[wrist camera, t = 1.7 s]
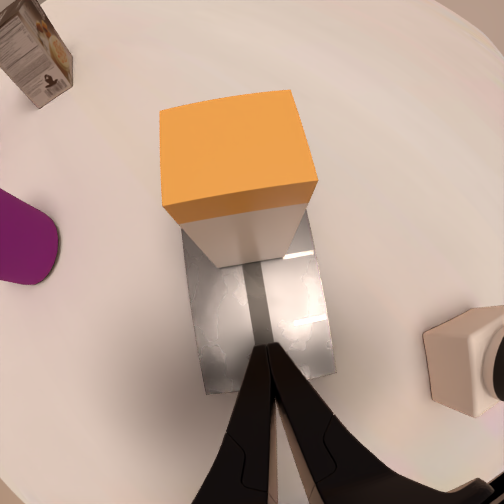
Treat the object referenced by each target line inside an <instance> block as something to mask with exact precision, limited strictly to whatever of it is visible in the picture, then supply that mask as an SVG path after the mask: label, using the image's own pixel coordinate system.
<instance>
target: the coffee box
mask: <svg viewBox="0 0 504 504" xmlns="http://www.w3.org/2000/svg"><path fill="white" fill-rule="evenodd" d="M0 67H1V69H2V70H3V71H4V72H5V73H6V74H7V75H8V76H9V77H10V79H11V80H12V81H13V82H14V83H15V84H16V85H17V86H18V87H19V88H20V89H21V90H22V91H23V92H24V94H25V95H26V96H27V97H28V98H29V99H30V100H31V101H32V102H33V103H34V104H35V105H36V106H37V107H38V108H41V107H43V106H44V105H45V104H47V103H48V102H50V101H51V100H53V99H54V98H55V97H57V96H58V95H60V94H61V93H63V92H64V91H66V90H68V89H69V88H71V87H72V86H73V76H72V55H71V53H70V52H69V50H68V49H67V47H66V46H65V44H64V43H63V41H62V40H61V38H60V37H59V35H58V33H57V32H56V30H55V29H54V27H53V25H52V24H51V22H50V21H49V19H48V18H47V16H46V14H45V13H44V11H43V9H42V8H41V6H40V5H39V3H38V1H37V0H16V1H15V2H13V3H12V4H10V5H9V6H8V7H6V8H5V9H4V10H3V11H2V12H0Z"/></svg>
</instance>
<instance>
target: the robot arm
mask: <svg viewBox="0 0 504 504" xmlns="http://www.w3.org/2000/svg"><path fill="white" fill-rule="evenodd" d="M275 400H276V403H275ZM276 404H277V408H278V411H279V414H280V417H281V420H282V423H283V426H284V429H285V432H286V436H287V439H288V442H289V445H290V448H291V451H292V454H293V457H294V460H295V463H296V466H297V469H298V472H299V475H300V478H301V481H302V484H303V486H304V489H305V492H306V495H307V498H308V500H309V504H504V471H503V472H502V473H500V474H499V475H498V476H496V477H495V478H494V479H492V480H491V481H490V482H488V483H486V482H485V481H483V480H481V479H480V478H476V479H474V480H471V481H469V482H467V483H465V484H463V485H461V486H459V487H457V488H455V489H453V490H450V491H448V492H441V491H438V490H435V489H433V488H430V487H428V486H425V485H423V484H420V483H418V482H415V481H413V480H411V479H408V478H406V477H404V476H402V475H399V474H398V473H396V472H394V471H393V470H391V469H390V468H389V467H387V466H386V465H385V464H384V463H383V462H381V461H380V460H379V459H378V458H377V457H376V456H375V455H373V454H372V453H371V452H370V451H369V450H368V449H367V448H366V447H364V446H363V445H362V444H361V443H360V442H359V441H358V440H357V439H356V438H355V437H354V436H353V435H352V434H351V433H350V432H349V431H348V430H347V429H346V427H345V426H344V425H343V424H342V423H341V422H340V420H339V419H338V418H337V417H336V415H333V412H332V410H331V409H330V408H329V407H328V405H327V404H326V403H325V402H324V400H323V399H322V398H321V397H320V395H319V394H318V393H317V391H316V390H315V389H314V388H313V386H312V385H311V384H310V382H309V381H308V380H307V379H306V377H305V376H304V375H303V373H302V372H301V371H300V370H299V368H298V367H297V366H296V364H295V363H294V362H293V360H292V359H291V358H290V356H289V355H288V354H287V353H286V351H285V350H284V349H283V347H282V346H281V345H280V343H279V342H272V343H268V344H267V345H265V344H260V345H255V346H254V347H253V349H252V352H251V355H250V359H249V362H248V365H247V368H246V371H245V374H244V378H243V381H242V384H241V387H240V390H239V393H238V396H237V399H236V402H235V405H234V408H233V411H232V415H231V418H230V421H229V424H228V427H227V430H226V433H225V435H224V438H223V441H222V444H221V446H220V449H219V452H218V454H217V457H216V459H215V461H214V463H213V465H212V467H211V469H210V471H209V473H208V475H207V477H206V478H205V480H204V482H203V484H202V486H201V488H200V490H199V491H198V493H197V495H196V497H195V498H194V500H193V502H192V503H191V504H278V479H277V433H276Z"/></svg>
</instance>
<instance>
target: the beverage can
mask: <svg viewBox="0 0 504 504" xmlns="http://www.w3.org/2000/svg"><path fill="white" fill-rule="evenodd" d="M57 249H58V235H57V229H56V227H55V224H54V222H53V220H51V219H50V218H49V217H48V216H47V215H46V214H45V213H43V212H41V211H40V210H38V209H36V208H34V207H32V206H30V205H29V204H27V203H25V202H23V201H21V200H20V199H18V198H16V197H14V196H13V195H11V194H9V193H7V192H6V191H4V190H2V189H0V280H3V281H8V282H13V283H18V284H23V285H34V284H37V283H39V282H41V281H42V280H43V279H44V278H45V277H46V276H47V275H48V274H49V272H50V270H51V268H52V266H53V264H54V262H55V258H56V254H57Z"/></svg>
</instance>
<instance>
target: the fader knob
mask: <svg viewBox="0 0 504 504" xmlns="http://www.w3.org/2000/svg"><path fill="white" fill-rule="evenodd" d="M160 169H161V191H162V206H163V207H164V208H165V210H166V211H167V212H168V213H169V214H170V215H171V216H172V218H173V219H174V220H175V221H176V222H177V223H178V224H179V226H180V227H181V228H182V229H183V230H184V231H185V232H186V234H187V235H188V236H189V237H190V238H191V239H192V240H193V241H194V242H195V244H196V245H197V246H198V247H199V248H200V249H201V250H202V251H203V253H204V254H205V255H206V256H207V257H208V258H209V259H210V260H211V261H212V262H213V264H214V265H215V266H216V267H217V268H220V267H226V266H233V265H239V264H245V263H251V262H257V261H263V260H269V259H275V258H281V257H285V255H286V252H287V250H288V248H289V246H290V244H291V241H292V239H293V237H294V235H295V232H296V230H297V228H298V226H299V223H300V221H301V219H302V217H303V214H304V212H305V210H306V208H307V205H308V203H309V201H310V198H311V196H312V194H313V191H314V189H315V187H316V184H317V182H318V178H317V174H316V170H315V167H314V163H313V160H312V156H311V153H310V149H309V146H308V143H307V139H306V136H305V133H304V130H303V126H302V123H301V120H300V117H299V114H298V111H297V108H296V105H295V102H294V99H293V96H292V93H291V90H281V91H270V92H261V93H253V94H245V95H238V96H231V97H225V98H219V99H213V100H208V101H202V102H197V103H192V104H188V105H183V106H178V107H174V108H170V109H166V110H162V111H160Z"/></svg>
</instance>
